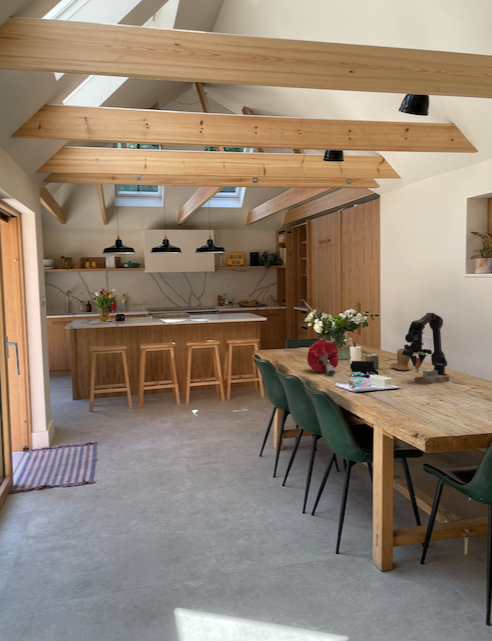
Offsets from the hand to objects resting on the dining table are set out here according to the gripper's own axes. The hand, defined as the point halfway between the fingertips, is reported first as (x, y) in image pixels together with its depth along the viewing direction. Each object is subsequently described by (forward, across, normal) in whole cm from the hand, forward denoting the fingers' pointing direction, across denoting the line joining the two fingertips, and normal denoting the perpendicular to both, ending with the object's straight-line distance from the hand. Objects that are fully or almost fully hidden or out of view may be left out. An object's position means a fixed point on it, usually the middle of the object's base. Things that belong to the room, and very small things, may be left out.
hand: (417, 365), depth 320 cm
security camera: (+10, +19, -30) cm, 37 cm away
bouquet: (+10, +36, -54) cm, 66 cm away
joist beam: (+10, -8, +4) cm, 14 cm away
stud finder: (+10, -15, -6) cm, 19 cm away
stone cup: (+10, -19, -40) cm, 45 cm away
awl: (+4, 0, 0) cm, 4 cm away
